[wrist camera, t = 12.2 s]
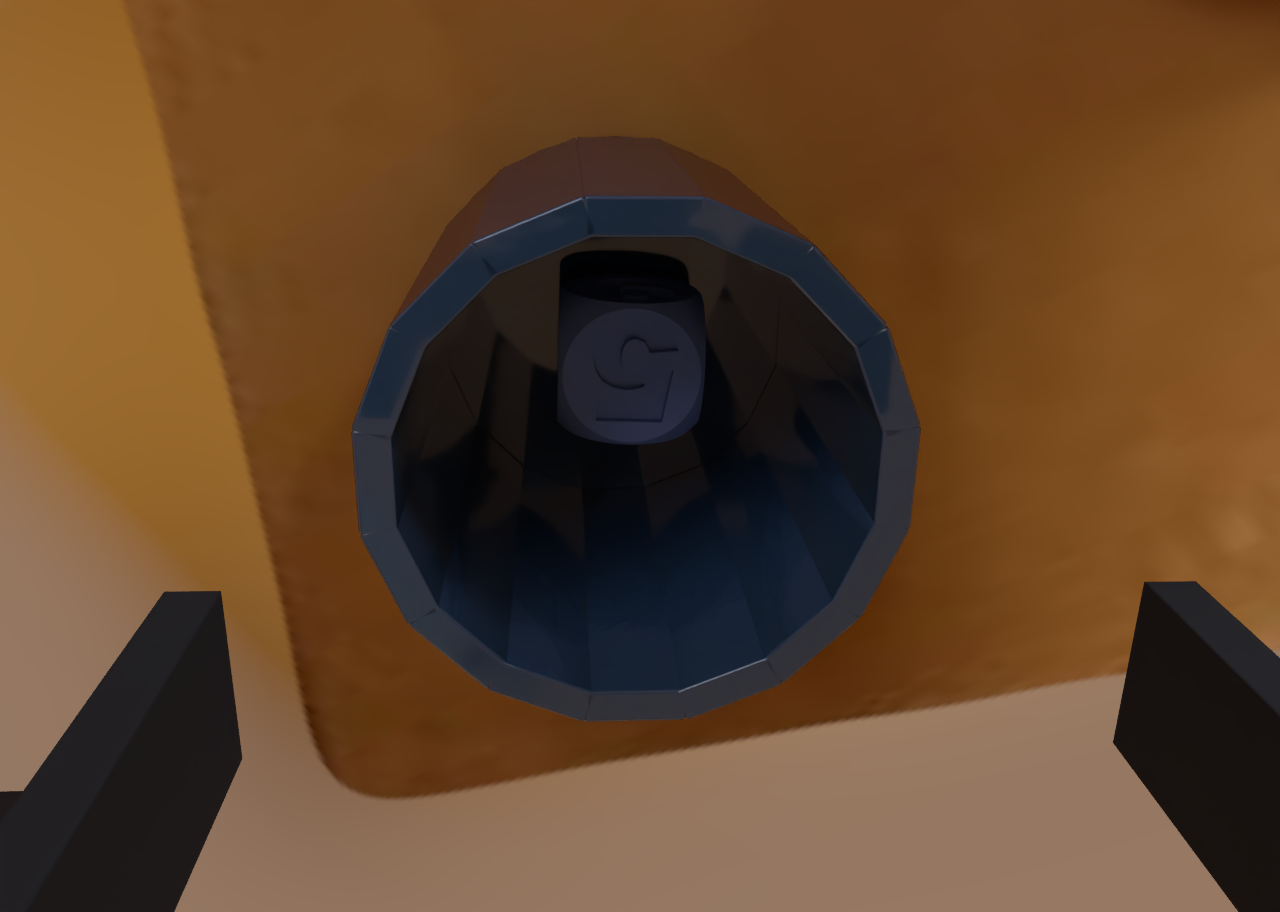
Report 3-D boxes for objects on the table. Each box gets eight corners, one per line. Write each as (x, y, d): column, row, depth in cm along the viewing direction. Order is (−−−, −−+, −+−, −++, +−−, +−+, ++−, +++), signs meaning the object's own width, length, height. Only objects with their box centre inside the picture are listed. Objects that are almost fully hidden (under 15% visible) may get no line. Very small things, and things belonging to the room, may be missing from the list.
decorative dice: (557, 400, 35) (556, 444, 32) (560, 271, 34) (559, 301, 30) (685, 403, 36) (700, 447, 32) (693, 276, 34) (710, 306, 31)
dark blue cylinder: (413, 133, 33) (332, 193, 21) (812, 138, 34) (946, 198, 22) (432, 505, 37) (372, 728, 25) (788, 502, 38) (890, 716, 26)
